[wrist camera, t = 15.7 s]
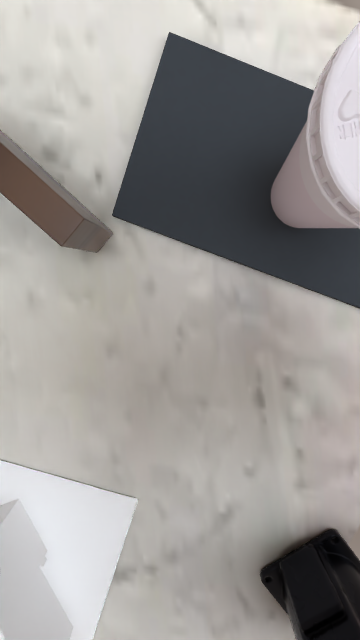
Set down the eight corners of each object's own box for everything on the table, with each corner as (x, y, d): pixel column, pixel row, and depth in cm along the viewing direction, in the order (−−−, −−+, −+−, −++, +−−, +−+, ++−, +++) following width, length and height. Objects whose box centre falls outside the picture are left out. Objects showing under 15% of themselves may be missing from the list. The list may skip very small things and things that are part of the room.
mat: (495, 169, 18) (502, 167, 17) (415, 329, 19) (420, 330, 19) (169, 36, 17) (169, 31, 16) (113, 216, 18) (111, 215, 18)
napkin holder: (88, 660, 24) (58, 782, 18) (-56, 625, 23) (-131, 738, 18) (138, 497, 21) (122, 579, 16) (-21, 454, 21) (-95, 522, 15)
